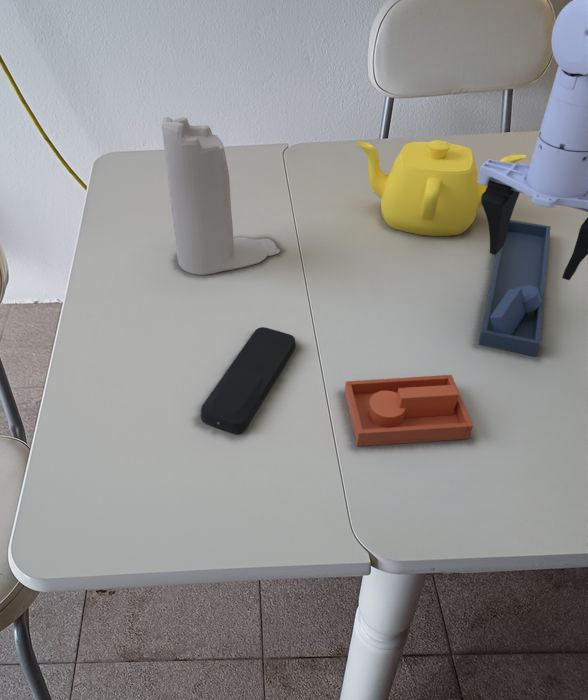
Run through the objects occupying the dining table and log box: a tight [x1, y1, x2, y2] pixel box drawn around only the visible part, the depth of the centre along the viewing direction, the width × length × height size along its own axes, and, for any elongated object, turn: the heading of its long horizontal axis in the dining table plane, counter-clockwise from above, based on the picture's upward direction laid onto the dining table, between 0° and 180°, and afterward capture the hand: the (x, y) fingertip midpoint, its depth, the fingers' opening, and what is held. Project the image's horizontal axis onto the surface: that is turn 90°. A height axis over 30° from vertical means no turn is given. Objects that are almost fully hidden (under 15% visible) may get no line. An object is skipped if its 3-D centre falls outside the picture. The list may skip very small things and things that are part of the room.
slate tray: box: [478, 219, 551, 357], centre depth 79 cm, size 25×6×2 cm, turn 158°
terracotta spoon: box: [368, 385, 460, 428], centre depth 64 cm, size 8×4×3 cm, turn 93°
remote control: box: [200, 326, 297, 434], centre depth 69 cm, size 5×2×15 cm
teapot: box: [355, 139, 527, 237], centre depth 88 cm, size 22×16×11 cm
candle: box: [161, 116, 281, 276], centre depth 81 cm, size 7×14×20 cm, turn 106°
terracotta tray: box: [344, 374, 474, 447], centre depth 65 cm, size 11×7×2 cm, turn 93°
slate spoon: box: [490, 286, 542, 335], centre depth 74 cm, size 8×4×3 cm, turn 142°
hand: (531, 262), depth 68 cm, fingers open, 7 cm apart
